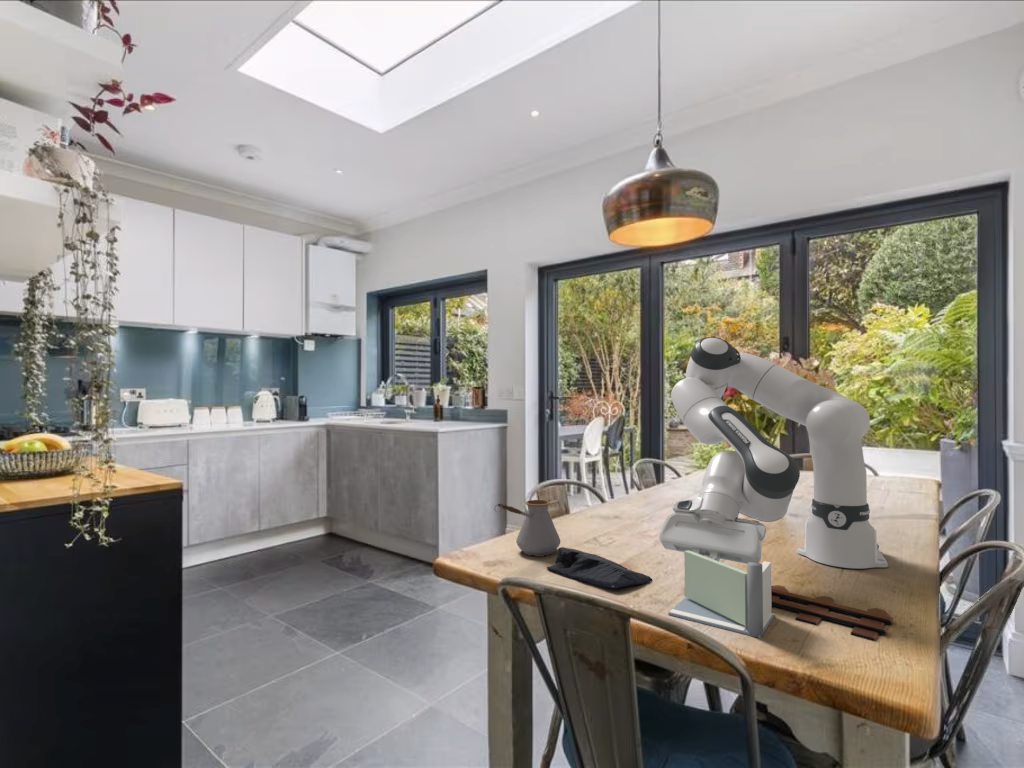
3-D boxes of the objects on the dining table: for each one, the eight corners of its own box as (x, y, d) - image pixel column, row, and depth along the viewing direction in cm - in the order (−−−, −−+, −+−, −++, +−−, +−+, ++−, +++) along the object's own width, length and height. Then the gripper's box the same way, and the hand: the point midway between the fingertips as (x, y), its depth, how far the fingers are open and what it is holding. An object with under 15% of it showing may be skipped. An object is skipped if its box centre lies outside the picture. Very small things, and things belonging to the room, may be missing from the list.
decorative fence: (882, 647, 90) (898, 619, 100) (882, 637, 90) (898, 609, 100) (740, 608, 105) (767, 587, 116) (740, 599, 105) (767, 579, 116)
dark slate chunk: (608, 599, 110) (608, 576, 110) (541, 570, 128) (541, 549, 128) (658, 583, 119) (658, 561, 119) (589, 557, 137) (589, 538, 137)
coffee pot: (535, 542, 149) (534, 488, 149) (569, 551, 141) (568, 493, 141) (480, 562, 133) (479, 500, 133) (515, 572, 125) (515, 507, 125)
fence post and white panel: (761, 613, 101) (760, 549, 101) (775, 616, 100) (774, 551, 100) (746, 635, 93) (745, 564, 93) (761, 638, 91) (760, 567, 91)
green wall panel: (750, 624, 95) (749, 573, 95) (745, 626, 94) (744, 574, 94) (689, 595, 108) (689, 550, 108) (684, 596, 108) (684, 551, 108)
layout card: (688, 596, 110) (688, 593, 110) (774, 615, 100) (774, 613, 100) (668, 614, 101) (668, 612, 101) (760, 638, 92) (760, 635, 92)
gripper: (770, 530, 113) (759, 592, 105) (674, 517, 125) (658, 571, 118) (764, 513, 109) (753, 575, 102) (666, 501, 122) (649, 555, 114)
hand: (701, 573), depth 110 cm, fingers closed
